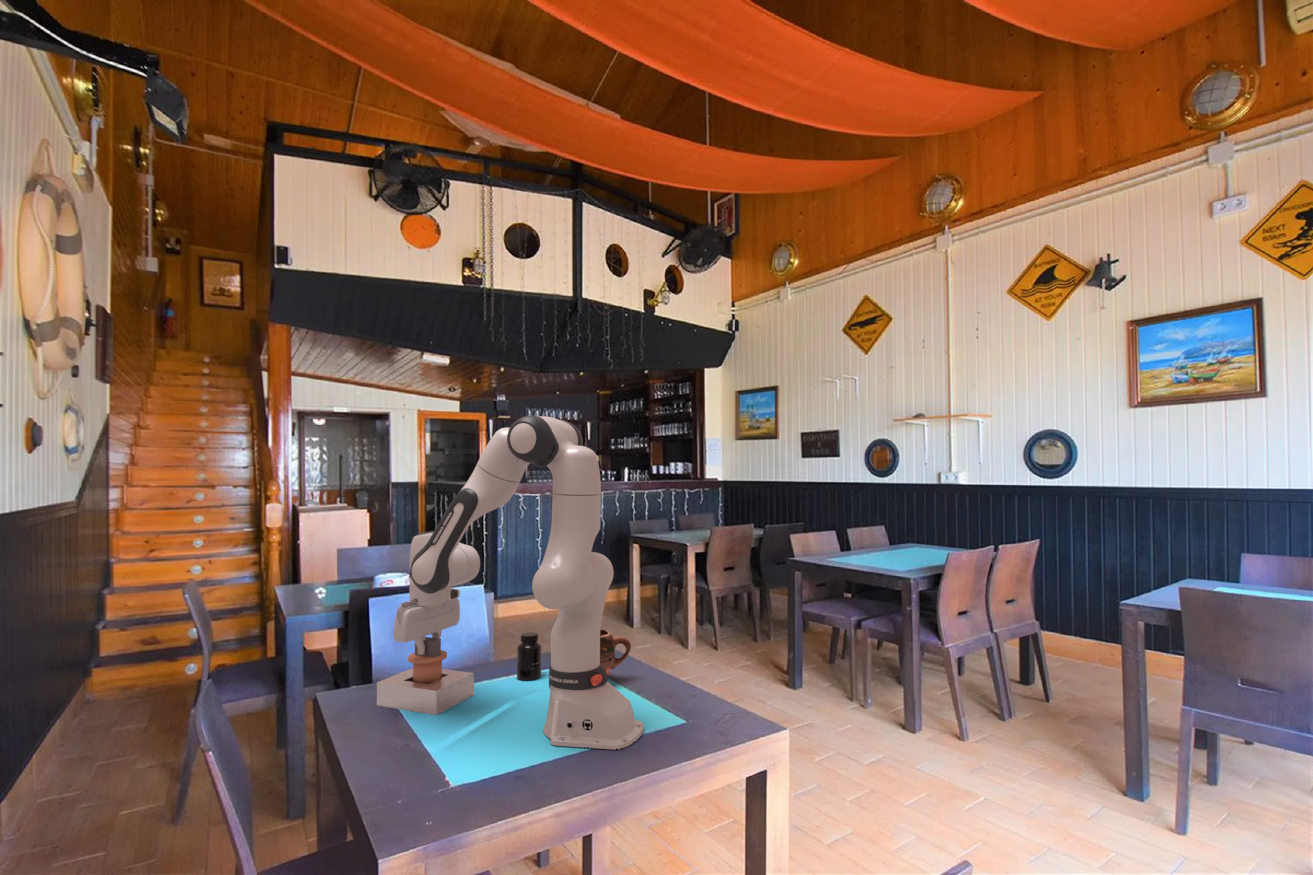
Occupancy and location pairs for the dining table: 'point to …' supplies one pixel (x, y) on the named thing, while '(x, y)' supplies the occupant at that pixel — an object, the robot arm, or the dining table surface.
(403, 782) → the dining table surface
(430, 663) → the end cover
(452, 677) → the housing
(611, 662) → the brown ceramic cup shape
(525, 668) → the supplement bottle
